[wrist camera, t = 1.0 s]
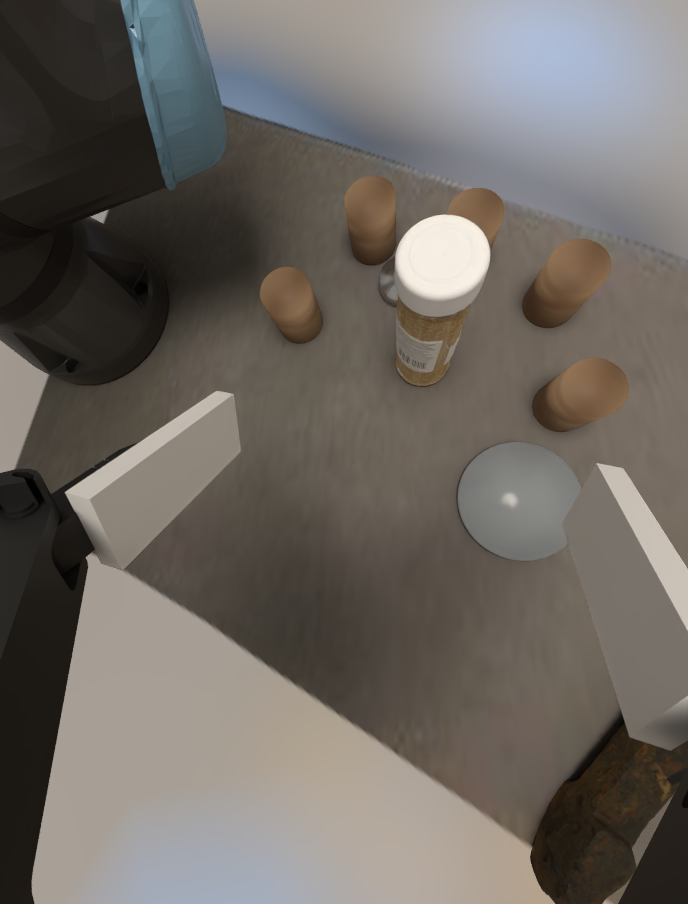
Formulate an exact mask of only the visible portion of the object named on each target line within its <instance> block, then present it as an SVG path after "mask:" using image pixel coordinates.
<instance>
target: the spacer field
mask: <svg viewBox="0 0 688 904" xmlns="http://www.w3.org/2000/svg"><path fill="white" fill-rule="evenodd" d="M344 204H345V211H346V217H347V223H348V228H349V234H350V240H351V246H352V252H353V254H354V256H355V258H356V259H357V260H358V261H360V262H361V263H363V264H366V265H377V264H380V263H383V262H384V261H386V260H387V259H389V258H390V256H391V255H392V254H393V252H394V250H395V246H396V192H395V189H394V187H393V185H392V184H391V183H390V181H388V180H387V179H385V178H383V177H380V176H367V177H363V178H361V179H359V180H357V181H356V182H354V183H353V184H352V185H351V186H350V187H349V189H348V190H347V192H346V195H345V199H344ZM447 215H456V216H460V217H463V218H465V219H468V220H469V221H471V222H473V223H474V224H475V225H477V226H478V227H479V228H480V229H481V230H482V231H483V233H484V235H485V236H486V238H487V240H488V243H489V247H490V251H491V248H492V246H493V243H494V240H495V238H496V235H497V233H498V230H499V227H500V225H501V222H502V220H503V217H504V205H503V202H502V200H501V198H500V197H499V196H498V195H497V194H496V193H494V192H492V191H491V190H488V189H484V188H472V189H468V190H465V191H463V192H461V193H460V194H458V195H457V196H456V197H455V198H454V199H453V200H452V202H451V204H450V206H449V208H448V213H447ZM610 271H611V259H610V256H609V254H608V252H607V251H606V250H605V249H604V248H603V247H602V246H601V245H600V244H598V243H596V242H594V241H591V240H587V239H574V240H569V241H567V242H564V243H563V244H561V245H559V246H558V247H557V248H556V249H555V250H554V251H553V253H552V254H551V256H550V257H549V259H548V260H547V262H546V263H545V265H544V267H543V268H542V270H541V271H540V273H539V274H538V276H537V278H536V279H535V281H534V282H533V284H532V285H531V287H530V288H529V290H528V292H527V293H526V295H525V297H524V299H523V304H522V307H523V312H524V314H525V316H526V318H527V319H528V320H529V321H530V322H531V323H533V324H535V325H537V326H539V327H544V328H552V327H557V326H559V325H562V324H563V323H565V322H566V321H567V320H568V319H569V318H570V317H571V316H572V315H573V314H574V313H575V312H576V311H577V310H578V309H579V308H580V307H581V306H582V305H583V304H584V303H585V302H586V301H587V300H588V299H589V297H590V296H591V295H592V294H593V293H594V292H595V291H596V290H597V289H598V288H599V287H600V286H601V285H602V284H603V283H604V282H605V281H606V279H607V278H608V276H609V274H610ZM260 299H261V302H262V304H263V306H264V307H265V308H266V310H267V311H268V313H269V314H270V316H271V317H272V319H273V320H274V322H275V323H276V325H277V326H278V328H279V329H280V331H281V332H282V334H283V335H284V336H285V338H286V339H288V340H289V341H291V342H294V343H306V342H309V341H311V340H312V339H314V338H315V337H316V336H317V335H318V334H319V332H320V331H321V328H322V325H323V317H322V314H321V311H320V309H319V306H318V303H317V301H316V298H315V296H314V293H313V291H312V288H311V286H310V283H309V281H308V278H307V277H306V275H305V274H304V273H303V272H302V271H301V270H299V269H297V268H294V267H281V268H278V269H276V270H274V271H272V272H271V273H269V274H268V275H267V276H266V278H265V279H264V281H263V282H262V285H261V288H260ZM628 393H629V384H628V380H627V378H626V376H625V374H624V372H623V371H622V370H621V369H620V368H619V367H618V366H617V365H615V364H614V363H612V362H610V361H608V360H605V359H601V358H588V359H583V360H581V361H578V362H576V363H575V364H573V365H572V366H571V367H569V368H568V369H567V370H565V371H564V372H563V373H561V374H560V375H559V376H557V377H556V378H555V379H554V380H552V381H551V382H550V383H548V384H547V385H546V386H544V387H543V388H542V389H540V390H539V391H538V393H537V394H536V396H535V398H534V401H533V412H534V415H535V417H536V419H537V420H538V422H539V423H540V424H541V425H543V426H544V427H545V428H547V429H550V430H552V431H557V432H565V431H569V430H572V429H575V428H577V427H580V426H582V425H585V424H587V423H590V422H592V421H595V420H597V419H600V418H602V417H605V416H607V415H610V414H612V413H614V412H616V411H617V410H619V409H620V408H621V407H622V406H623V404H624V403H625V401H626V400H627V397H628Z"/></svg>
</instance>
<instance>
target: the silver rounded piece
mask: <svg viewBox="0 0 688 904" xmlns="http://www.w3.org/2000/svg"><path fill="white" fill-rule="evenodd" d="M380 291H381V295H382V297H383V299H384V300H385V301H386V302H387V303H388V304H389V305H391V306H394V307H397V300H398V294H397V291H396V287H395V258H393V259H391V260H390V261H388V262H387V263H386V264H385V265H384V267H383V268H382V270H381V273H380Z"/></svg>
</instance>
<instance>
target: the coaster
mask: <svg viewBox="0 0 688 904" xmlns="http://www.w3.org/2000/svg"><path fill="white" fill-rule="evenodd" d="M580 491H581V487H580V484H579V482H578V480H577V478H576V476H575V474H574V473H573V471H572V470H571V468H570V467H569V466H568V465H567V464H566V463H565V461H563V460H562V459H561V458H560V457H559V456H557V455H556V454H554V453H553V452H551V451H550V450H548V449H546V448H543V447H541V446H538V445H535V444H531V443H524V442H510V443H503V444H499V445H496V446H494V447H491V448H489V449H487V450H485V451H484V452H482V453H480V454H479V455H478V456H476V457H475V458H474V459H473V460H472V461H471V462H470V463H469V465H468V466H467V467H466V469H465V471H464V472H463V474H462V476H461V479H460V481H459V485H458V491H457V505H458V511H459V514H460V517H461V520H462V522H463V524H464V526H465V528H466V529H467V531H468V532H469V533H470V535H471V536H472V537H473V538H474V539H475V540H476V541H477V542H478V543H479V544H480V545H481V546H483V547H484V548H486V549H487V550H489V551H491V552H492V553H494V554H497V555H499V556H501V557H504V558H507V559H512V560H518V561H532V560H538V559H543V558H545V557H548V556H551V555H553V554H555V553H556V552H558V551H560V550H561V549H562V548H564V547H565V546H566V545H567V544H568V542H567V539H566V535H565V532H564V529H563V526H562V523H563V521H564V519H565V518H566V516H567V514H568V512H569V511H570V509H571V507H572V505H573V504H574V502H575V500H576V498H577V497H578V495H579V493H580Z"/></svg>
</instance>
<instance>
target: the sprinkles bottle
mask: <svg viewBox="0 0 688 904" xmlns="http://www.w3.org/2000/svg"><path fill="white" fill-rule="evenodd" d="M489 263H490V247H489V243H488V240H487V238H486V236H485V235H484V233H483V231H482V230H481V229H480V228H479V227H478V226H477V225H475V224H474V223H473V222H471V221H469V220H468V219H465V218H463V217H460V216H456V215H437V216H433V217H430V218H427V219H424V220H422V221H420V222H419V223H417V224H416V225H414V226H413V227H412V228H410V230H409V231H408V232H407V233H406V234H405V235H404V236H403V238H402V240H401V241H400V243H399V245H398V248H397V251H396V256H395V287H396V291H397V294H398V300H397V310H396V348H397V355H396V367H397V370H398V373H399V374H400V375H401V377H402V378H403V379H404V380H406V381H407V382H408V383H410V384H413V385H416V386H427V385H431V384H434V383H436V382H438V381H439V380H440V379H441V378H442V377H443V376H444V375H445V373H446V372H447V370H448V368H449V365H450V359H451V357H452V355H453V353H454V351H455V348H456V345H457V343H458V340H459V337H460V334H461V329H462V327H463V324H464V321H465V318H466V316H467V314H468V311H469V308H470V305H471V302H472V301H473V300H474V299H475V298H476V296H477V295H478V293H479V291H480V289H481V287H482V284H483V282H484V279H485V276H486V273H487V270H488V267H489Z"/></svg>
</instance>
